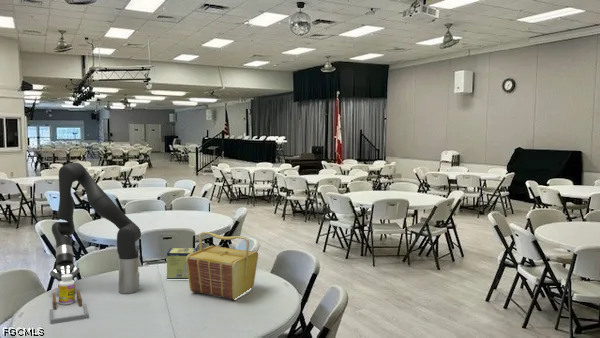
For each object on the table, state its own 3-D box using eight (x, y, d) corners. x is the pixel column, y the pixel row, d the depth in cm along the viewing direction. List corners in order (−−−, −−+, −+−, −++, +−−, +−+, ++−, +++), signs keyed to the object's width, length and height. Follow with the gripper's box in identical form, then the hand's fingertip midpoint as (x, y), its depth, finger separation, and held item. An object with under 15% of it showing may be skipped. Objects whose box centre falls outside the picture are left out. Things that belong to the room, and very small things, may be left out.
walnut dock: (79, 296, 220) (79, 289, 220) (81, 306, 209) (81, 298, 209) (52, 300, 215) (52, 293, 214) (53, 310, 203) (53, 302, 203)
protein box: (169, 274, 259) (169, 247, 258) (197, 274, 261) (198, 248, 260) (166, 280, 249) (166, 252, 248) (195, 280, 250) (195, 252, 249)
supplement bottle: (68, 305, 209) (68, 278, 208) (55, 304, 210) (55, 276, 209) (78, 300, 215) (78, 274, 214) (65, 299, 217) (65, 272, 216)
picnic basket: (183, 295, 227) (184, 235, 225) (211, 280, 251) (213, 226, 249) (234, 305, 217) (236, 242, 214) (259, 289, 240) (261, 232, 238)
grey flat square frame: (85, 307, 208) (85, 304, 208) (88, 317, 196) (88, 314, 196) (49, 312, 201) (49, 309, 200) (50, 323, 189) (50, 320, 189)
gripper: (49, 253, 222) (50, 285, 213) (79, 250, 229) (81, 282, 219) (49, 261, 227) (50, 293, 218) (78, 258, 234) (80, 289, 224)
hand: (66, 287), depth 218 cm, fingers closed
